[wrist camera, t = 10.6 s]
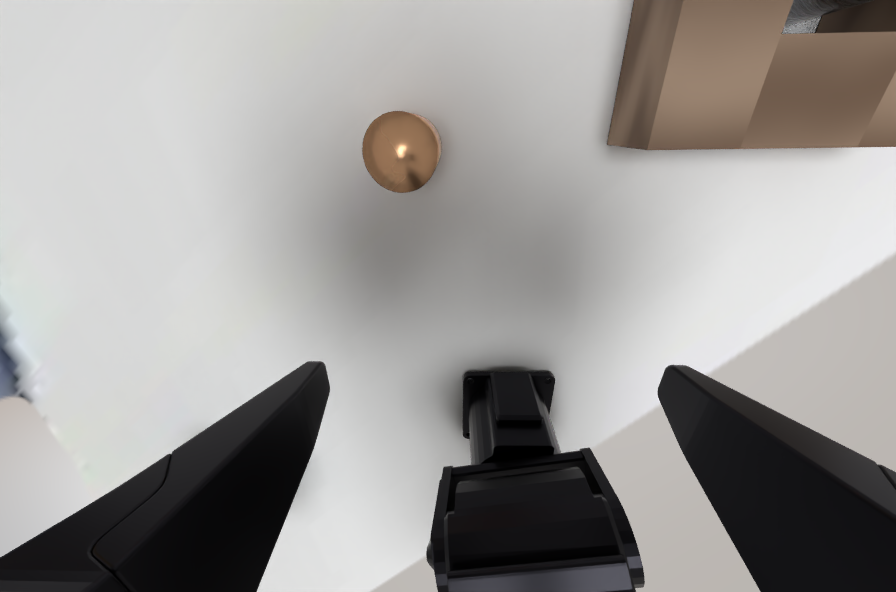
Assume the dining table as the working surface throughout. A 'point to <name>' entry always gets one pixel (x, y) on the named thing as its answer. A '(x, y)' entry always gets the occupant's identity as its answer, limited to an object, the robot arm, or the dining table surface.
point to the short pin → (401, 151)
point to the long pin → (817, 9)
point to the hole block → (755, 77)
